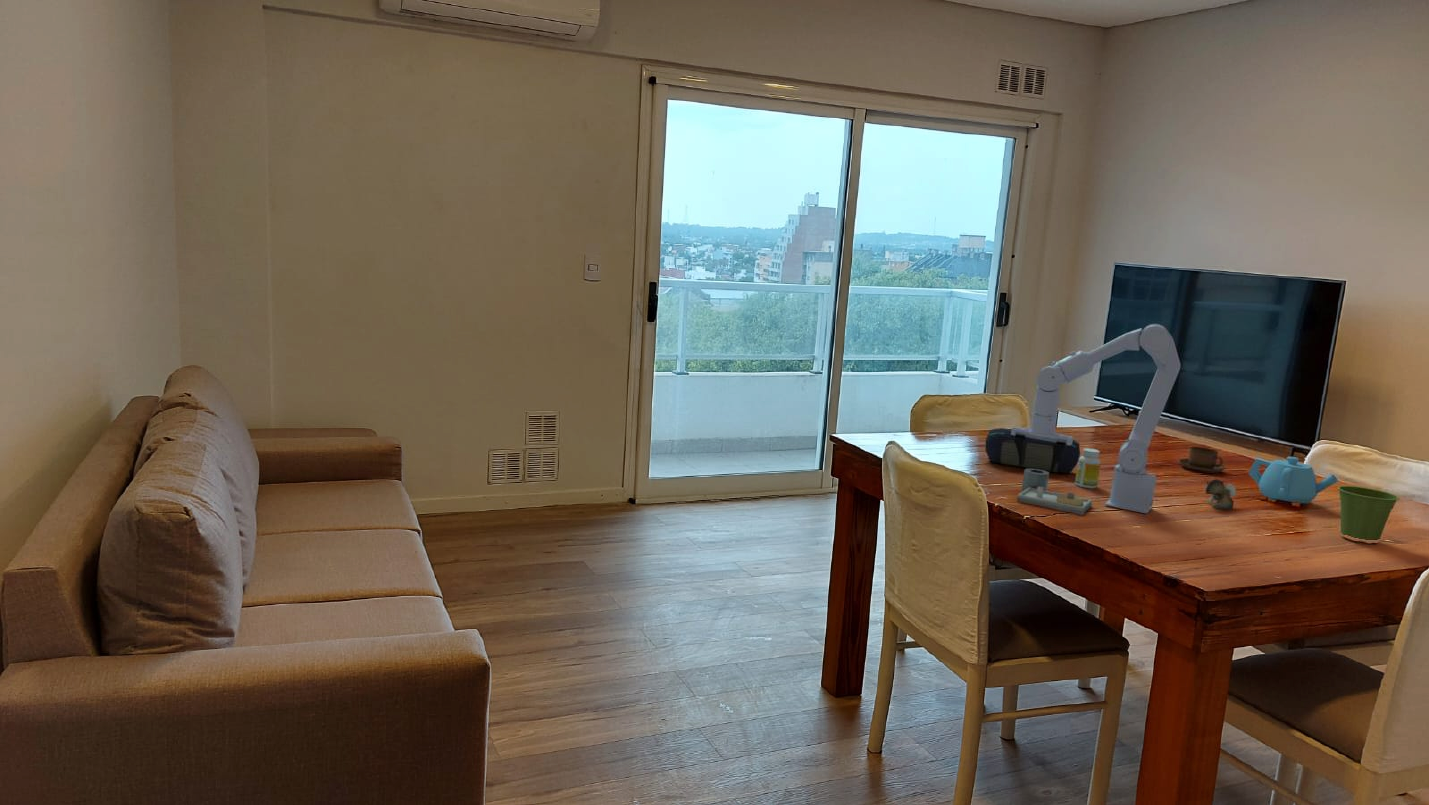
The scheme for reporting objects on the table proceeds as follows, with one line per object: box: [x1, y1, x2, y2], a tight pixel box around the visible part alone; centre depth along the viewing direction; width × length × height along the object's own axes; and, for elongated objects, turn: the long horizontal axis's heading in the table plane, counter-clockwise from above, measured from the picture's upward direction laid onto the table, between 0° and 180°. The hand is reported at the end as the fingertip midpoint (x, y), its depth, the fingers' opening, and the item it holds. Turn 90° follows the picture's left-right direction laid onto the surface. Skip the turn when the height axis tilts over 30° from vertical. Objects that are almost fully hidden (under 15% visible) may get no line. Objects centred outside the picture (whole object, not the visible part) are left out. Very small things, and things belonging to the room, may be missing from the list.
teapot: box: [1247, 456, 1339, 504], centre depth 252 cm, size 20×17×12 cm
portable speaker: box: [985, 427, 1081, 474], centre depth 269 cm, size 25×10×10 cm, turn 67°
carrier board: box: [1016, 487, 1093, 516], centre depth 232 cm, size 15×10×3 cm, turn 58°
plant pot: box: [1336, 485, 1401, 540], centre depth 221 cm, size 12×12×11 cm
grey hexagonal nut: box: [1021, 468, 1050, 491], centre depth 243 cm, size 6×6×5 cm
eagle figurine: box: [1205, 478, 1237, 511], centre depth 243 cm, size 8×8×10 cm
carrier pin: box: [1036, 486, 1044, 498], centre depth 234 cm, size 1×1×4 cm
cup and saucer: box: [1178, 446, 1225, 474], centre depth 284 cm, size 12×12×6 cm
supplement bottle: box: [1074, 448, 1102, 489], centre depth 252 cm, size 5×5×10 cm
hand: (1036, 468), depth 243 cm, fingers open, 7 cm apart
